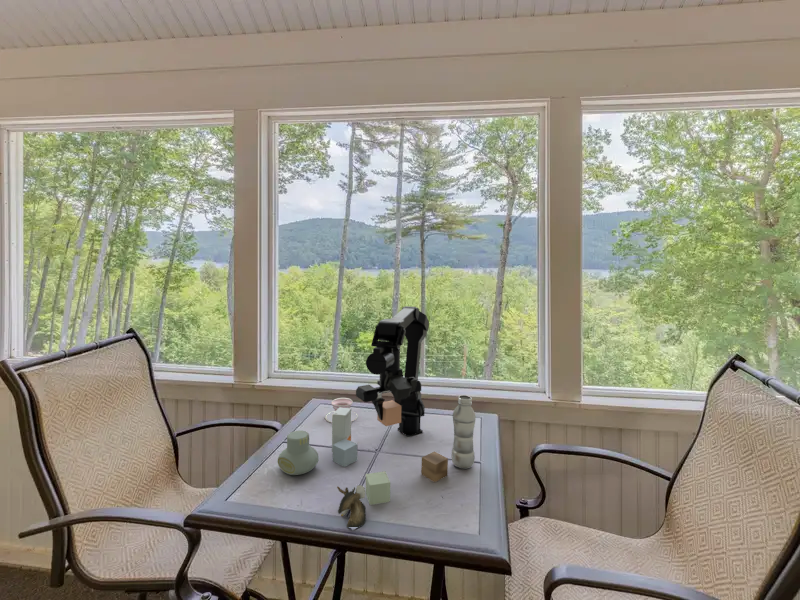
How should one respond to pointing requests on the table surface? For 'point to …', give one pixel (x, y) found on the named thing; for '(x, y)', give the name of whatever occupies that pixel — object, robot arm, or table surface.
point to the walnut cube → (434, 466)
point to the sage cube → (377, 488)
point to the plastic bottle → (463, 433)
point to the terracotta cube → (390, 413)
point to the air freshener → (298, 454)
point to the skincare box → (341, 425)
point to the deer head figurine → (353, 506)
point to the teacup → (341, 405)
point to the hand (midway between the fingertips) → (389, 417)
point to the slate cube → (344, 452)
